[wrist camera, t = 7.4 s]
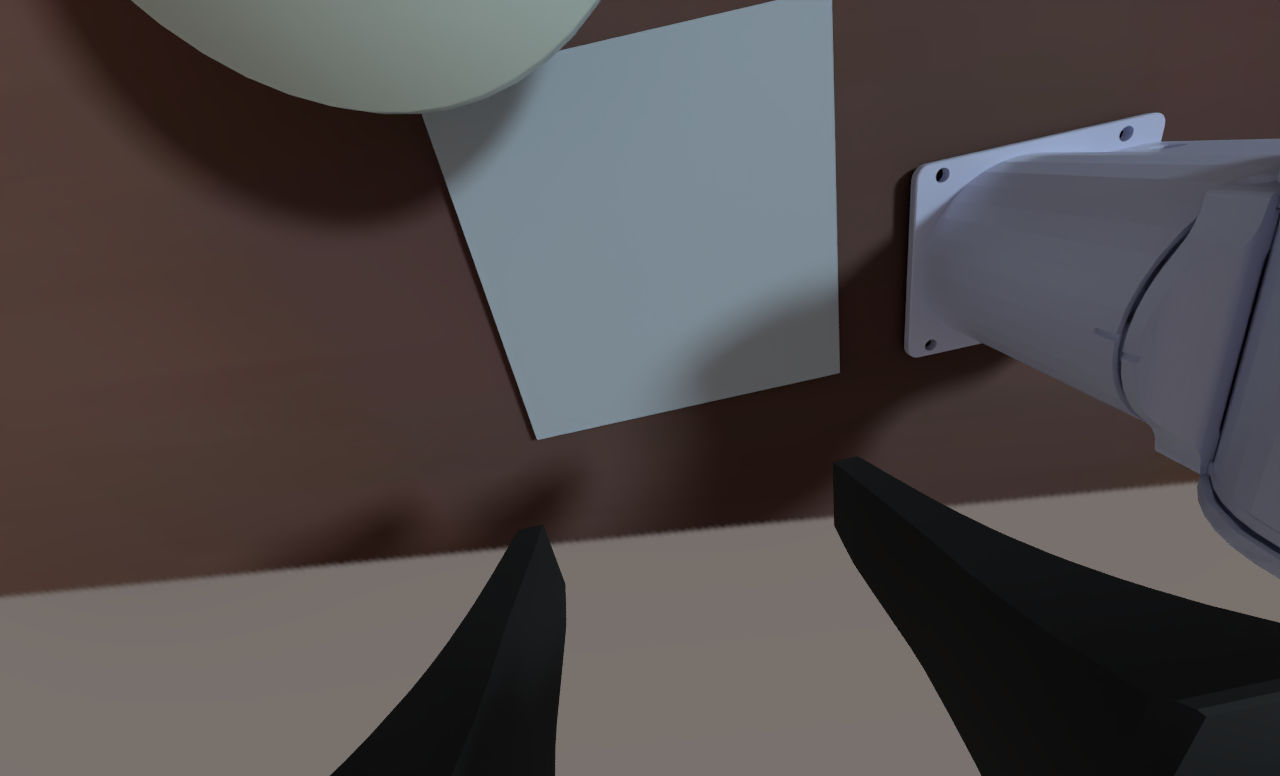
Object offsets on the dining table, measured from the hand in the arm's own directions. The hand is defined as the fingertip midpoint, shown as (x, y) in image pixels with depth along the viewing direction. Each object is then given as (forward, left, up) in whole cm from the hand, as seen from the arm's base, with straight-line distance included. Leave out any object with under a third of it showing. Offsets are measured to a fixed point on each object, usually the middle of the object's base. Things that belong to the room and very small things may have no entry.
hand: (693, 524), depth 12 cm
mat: (-1, -5, -10) cm, 11 cm away
